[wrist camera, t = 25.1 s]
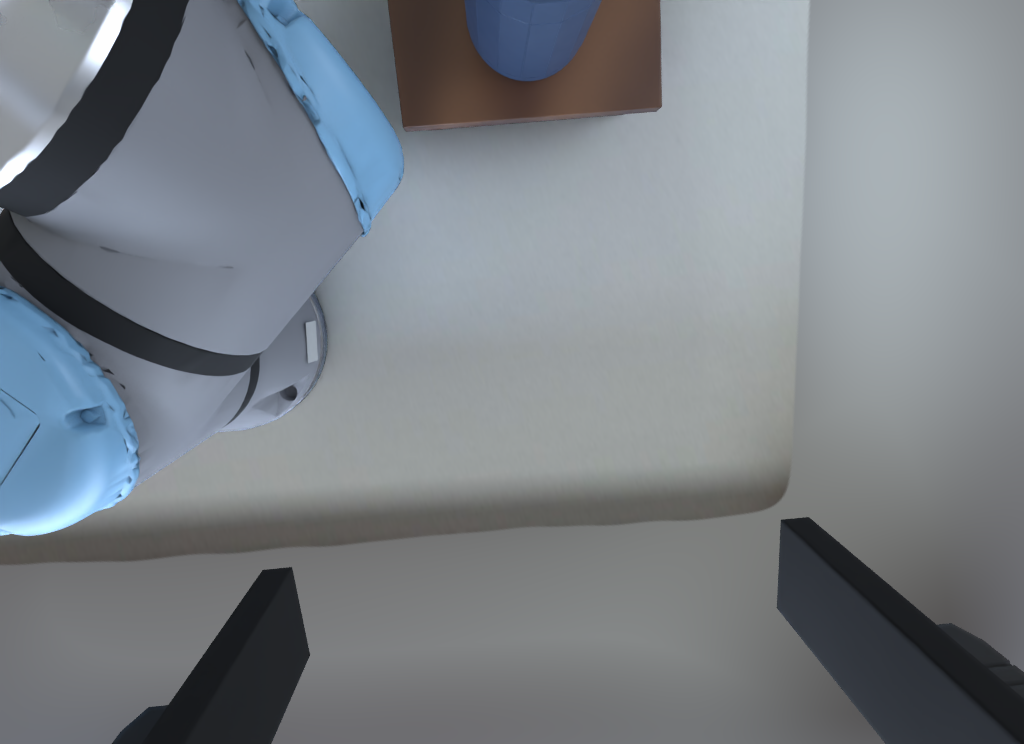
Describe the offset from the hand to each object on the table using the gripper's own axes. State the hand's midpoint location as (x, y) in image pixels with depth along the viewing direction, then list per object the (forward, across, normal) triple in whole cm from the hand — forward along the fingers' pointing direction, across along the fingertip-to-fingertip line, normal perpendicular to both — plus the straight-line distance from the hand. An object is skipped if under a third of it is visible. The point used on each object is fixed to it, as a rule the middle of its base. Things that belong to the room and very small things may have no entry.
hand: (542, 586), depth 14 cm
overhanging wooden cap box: (+31, +3, +23) cm, 38 cm away
